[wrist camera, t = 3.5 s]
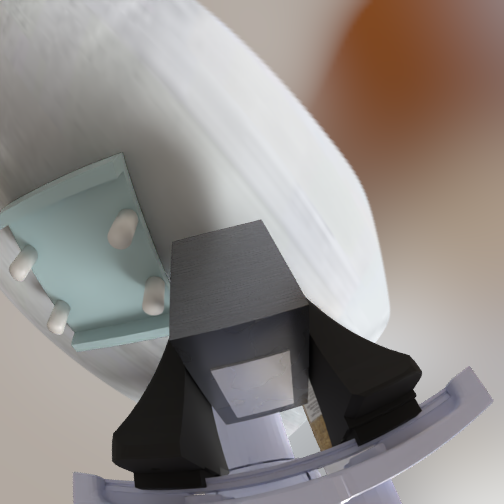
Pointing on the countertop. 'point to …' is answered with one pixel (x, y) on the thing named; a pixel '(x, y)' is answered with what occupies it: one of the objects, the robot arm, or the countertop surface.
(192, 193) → the countertop surface
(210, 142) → the countertop surface
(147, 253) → the tray
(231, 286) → the dark grey block
